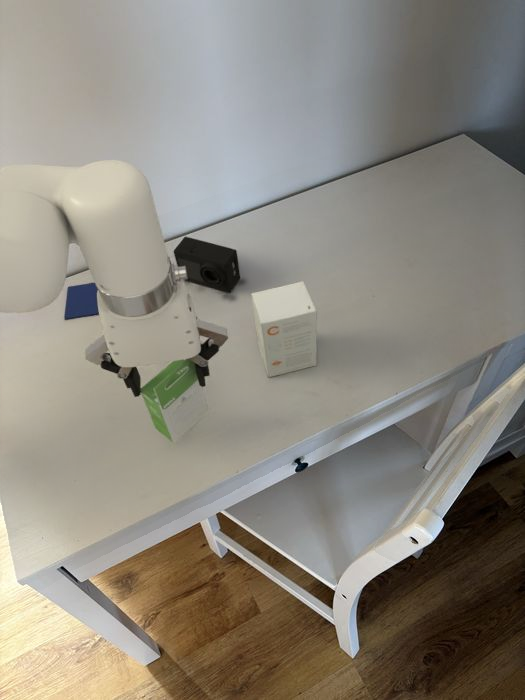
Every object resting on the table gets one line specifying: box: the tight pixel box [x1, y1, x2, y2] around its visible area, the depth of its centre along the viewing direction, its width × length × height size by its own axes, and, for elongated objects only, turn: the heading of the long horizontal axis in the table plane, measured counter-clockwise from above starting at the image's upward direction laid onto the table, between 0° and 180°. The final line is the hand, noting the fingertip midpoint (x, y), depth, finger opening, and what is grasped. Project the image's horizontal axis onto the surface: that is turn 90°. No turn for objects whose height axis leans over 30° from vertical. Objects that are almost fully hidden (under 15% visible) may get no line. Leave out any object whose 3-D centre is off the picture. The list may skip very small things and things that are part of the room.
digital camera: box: [173, 236, 241, 294], centre depth 95 cm, size 10×5×7 cm, turn 65°
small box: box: [251, 280, 318, 378], centre depth 81 cm, size 8×6×13 cm
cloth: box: [63, 282, 99, 321], centre depth 97 cm, size 18×8×1 cm, turn 98°
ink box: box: [140, 358, 210, 444], centre depth 70 cm, size 7×4×13 cm, turn 139°
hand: (169, 381), depth 68 cm, fingers closed on ink box, 7 cm apart
